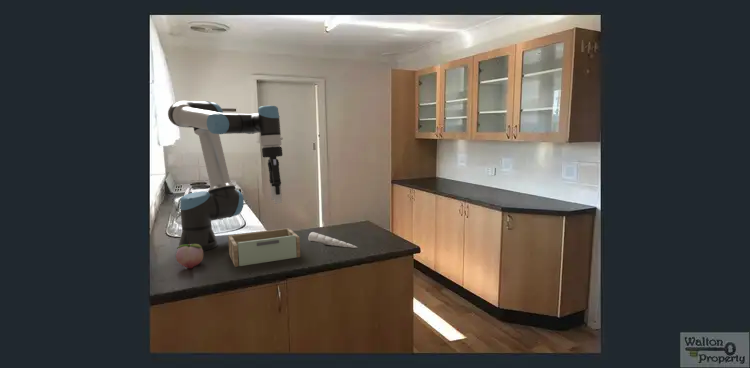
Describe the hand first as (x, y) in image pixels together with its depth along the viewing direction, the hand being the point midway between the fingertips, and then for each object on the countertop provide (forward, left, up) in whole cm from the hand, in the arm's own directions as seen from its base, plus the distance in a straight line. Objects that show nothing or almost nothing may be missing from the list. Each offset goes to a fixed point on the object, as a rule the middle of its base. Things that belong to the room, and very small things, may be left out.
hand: (276, 201), depth 161 cm
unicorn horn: (-5, +24, -23) cm, 33 cm away
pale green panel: (+9, -6, -21) cm, 23 cm away
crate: (+1, -6, -22) cm, 23 cm away
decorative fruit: (-1, -32, -22) cm, 39 cm away
